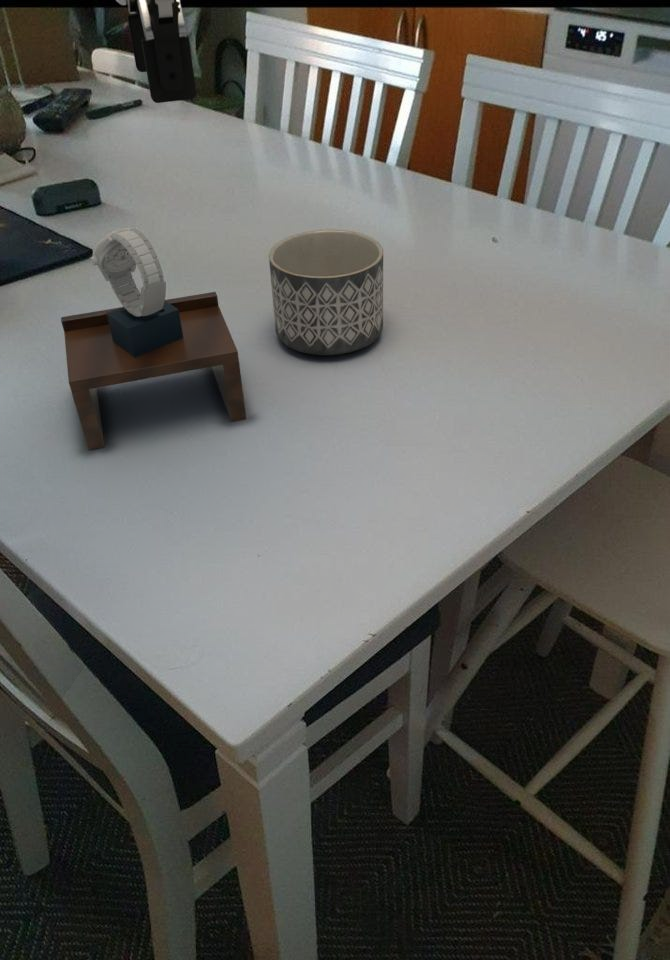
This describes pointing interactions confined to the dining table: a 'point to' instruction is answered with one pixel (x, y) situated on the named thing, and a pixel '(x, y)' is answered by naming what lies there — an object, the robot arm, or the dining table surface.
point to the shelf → (149, 358)
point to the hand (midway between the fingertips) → (165, 83)
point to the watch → (136, 293)
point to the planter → (327, 291)
